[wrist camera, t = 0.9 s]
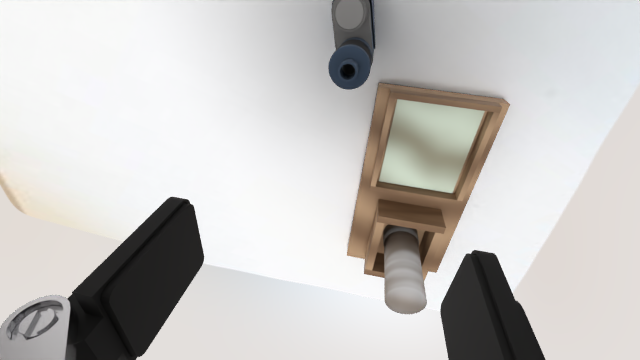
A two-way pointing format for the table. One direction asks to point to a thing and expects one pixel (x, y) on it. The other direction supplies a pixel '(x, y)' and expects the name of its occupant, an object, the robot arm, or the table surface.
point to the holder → (418, 183)
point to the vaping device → (352, 42)
